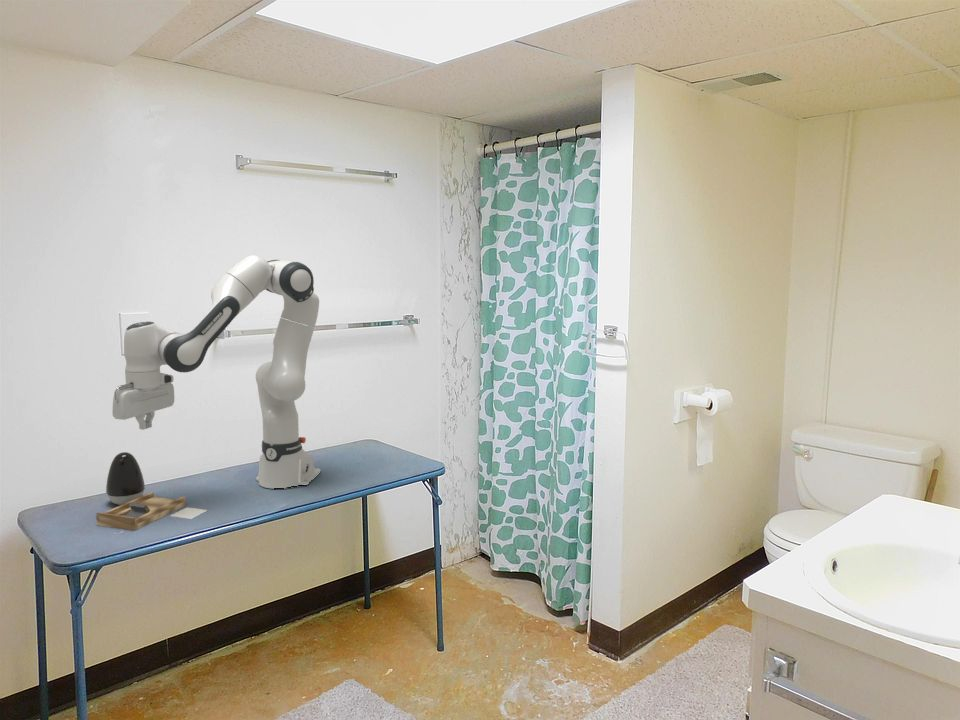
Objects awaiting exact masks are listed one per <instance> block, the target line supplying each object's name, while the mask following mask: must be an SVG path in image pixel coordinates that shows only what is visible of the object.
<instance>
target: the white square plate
mask: <svg viewBox="0 0 960 720" xmlns="http://www.w3.org/2000/svg"><path fill="white" fill-rule="evenodd" d="M205 512H208V509H200V508H194V507H185V508H183V509H181V510H179V511H176V512H174V513H173V514H171V515H170V517H174V518H180V519H181V518H182V519H187V520H188V519H189V520H192V519H195V518H196V517H198V516H200V515H201V514H204V513H205Z"/></svg>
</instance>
